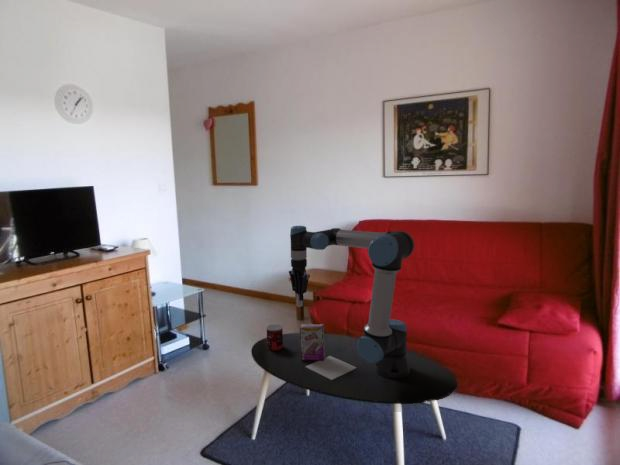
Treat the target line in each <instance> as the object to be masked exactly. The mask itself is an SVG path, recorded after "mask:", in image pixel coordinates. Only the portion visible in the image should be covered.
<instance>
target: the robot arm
mask: <svg viewBox="0 0 620 465" xmlns="http://www.w3.org/2000/svg"><path fill="white" fill-rule="evenodd" d="M289 236H290V258H291V259H290V266H291V270H288V273H289V277H290V278H289V279H290V283H291V288H292V291H293V292H294V293H295V299H296V300H295V301H296V303H295V304H296V307H297V308H300V307H303V306H304V304H303V303H304V302H303V300H304V293H305V294H306V293H307V292H308V291H307V290H308V283H309V279H310V276H311V275H310V274H309V273H307V269H306V267H307V266H308V262H307V261H308V260H307V254H308V253H307V251H308V249H310V250H311V249H312V250H319V251H323V250H325V249H326V248H327V247H330V246H339V247H349V248H359V249H367V254H368V258H369V259H370V262H371V267H372V268H373V269H374V274H373V283H372V290H371V291H372V292H371V299H370V307H369V315H368V323H366V324H365V325H364V326H363V332H362V333H363V334H362V335H361V336H360V337H359V338H358V340H357V342H356V348H357V352H358V353H359V355H360V357H361V358H362V359H363V360H365V361H366V362H368V363H371V364H372V363H373V364H375V367H374V368H375V372H376V373H377V374H378V375H380V376H382V377H384V378H388V379H389V378H390V379H401V378H405V377H407V376H409V374H410V373H411V368H410V367H411V366H410V364H409V361H408V357H407V339H408V338H407V336H408V335H407V332H408V330H407V328H408V327H407V324H406V323H405V322H404V321H402V320H399V319H393V318H391V314H392V307H393V300H394V294H395V285H396V280H397V279H396V278H397V273H398V272H400V271H401V270H402V264H403V260H405V259H407V258H409V257H410V256H411V255H412V253H413V252H414V250H415V241H414V238H413V237H412V235H411V234H409V233H408V232H407V231H403V230H393V231H392V230H388V231H386V232H378V231H377V232H375V231H363V230H362V231H361V230H350V229H341V228H338V227H334V228H330V229H325V230H320V231H308V229H307V227H306V226H304V225H294V226H291V227H290V235H289ZM307 248H308V249H307Z"/></svg>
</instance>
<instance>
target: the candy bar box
mask: <svg viewBox="0 0 620 465" xmlns="http://www.w3.org/2000/svg"><path fill="white" fill-rule="evenodd" d="M299 340H300V342H299V343H300V344H299V346H300V360H301V361H319V360H322V361H323V360H324V358H326V357H325V356H326V354H325V325H324V323H322V324H318V323H317V324H307V323H305V324H304V323H303V324H302V323H301V324H300V325H299Z"/></svg>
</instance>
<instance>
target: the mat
mask: <svg viewBox="0 0 620 465" xmlns="http://www.w3.org/2000/svg"><path fill="white" fill-rule="evenodd" d="M304 368H306V369H308V370H310V371H312V372H314V373H316V374H318V375H320V376H323V377H324V378H326V379H328V380H330V381H334V380H335V379H337V378H338V379H339V377H342V376H345V375H346V374H348V373H350V372H352V371H354V370H356V369H357V367H356V366H355V365H352V364H350V363H347V362H345V361H343V360H341V359H339V358H336V357H333V356H332V355H329V356H327V357H324V360H323V361H322V360H316V361H315V362H313V363H310V364H307V365H305V367H304Z"/></svg>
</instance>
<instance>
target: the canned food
mask: <svg viewBox="0 0 620 465" xmlns="http://www.w3.org/2000/svg"><path fill="white" fill-rule="evenodd" d="M283 332H284V330H283V326H282V325H279V324H271V325H268V326H266V347H267V349H268V350H269V351H271V350H272V352H276V351H277V350H278V351H281V350H282V349H283V347H284V343H283V342H284V339H283V338H284V333H283ZM280 349H281V350H280ZM278 351H277V352H278Z"/></svg>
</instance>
